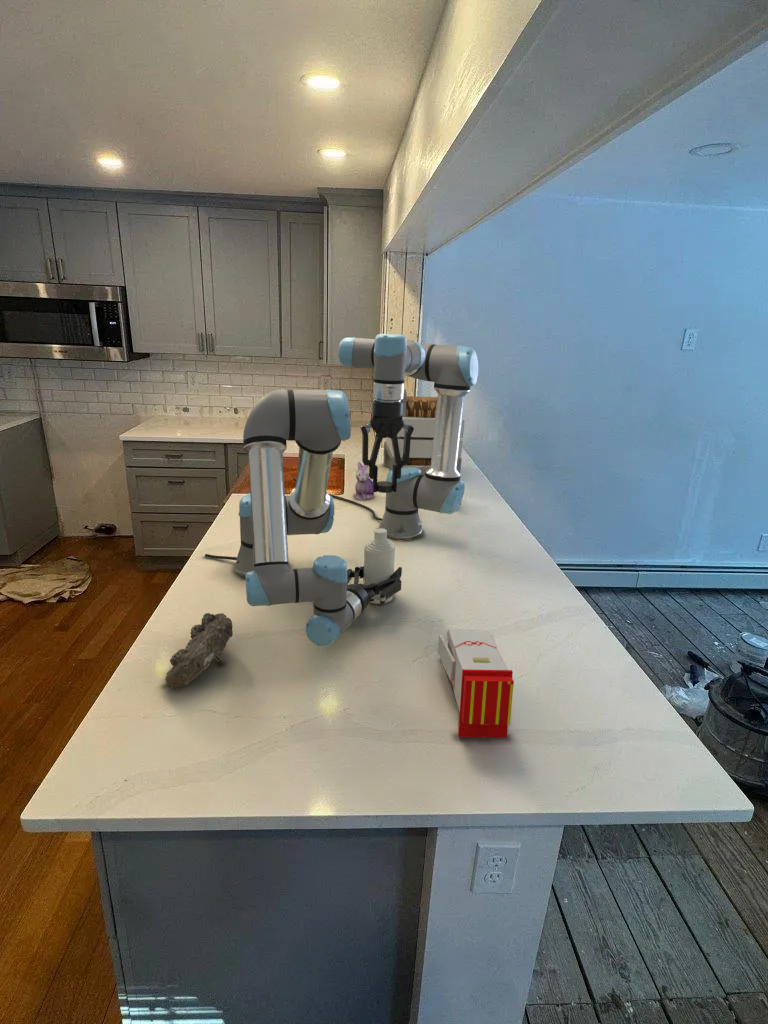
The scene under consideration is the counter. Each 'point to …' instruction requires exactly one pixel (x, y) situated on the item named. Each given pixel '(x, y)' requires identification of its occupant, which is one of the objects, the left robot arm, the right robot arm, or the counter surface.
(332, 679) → the counter surface
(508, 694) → the toy
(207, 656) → the fossil
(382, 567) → the bottle
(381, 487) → the cap
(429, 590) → the counter surface
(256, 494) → the left robot arm
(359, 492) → the figurine
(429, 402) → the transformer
